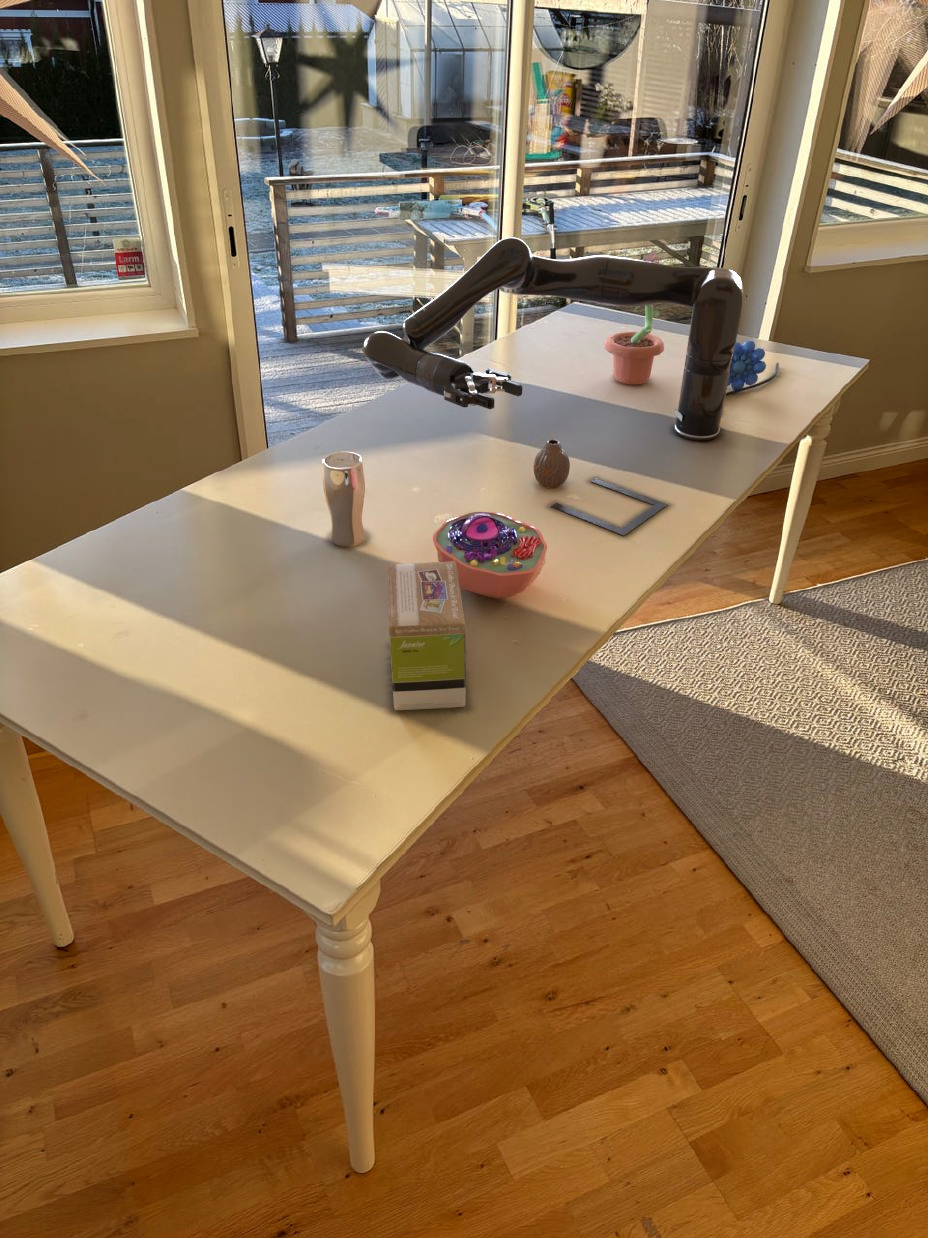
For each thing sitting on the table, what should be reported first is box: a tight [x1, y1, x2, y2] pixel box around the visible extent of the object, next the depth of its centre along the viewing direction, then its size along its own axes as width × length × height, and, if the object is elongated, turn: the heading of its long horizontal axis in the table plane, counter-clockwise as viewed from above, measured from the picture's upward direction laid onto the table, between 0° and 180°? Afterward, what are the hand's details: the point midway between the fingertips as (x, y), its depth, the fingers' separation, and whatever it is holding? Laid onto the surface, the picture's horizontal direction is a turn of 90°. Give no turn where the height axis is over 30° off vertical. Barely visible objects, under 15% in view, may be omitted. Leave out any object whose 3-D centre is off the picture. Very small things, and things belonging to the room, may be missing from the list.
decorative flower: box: [604, 249, 665, 385], centre depth 215 cm, size 15×14×30 cm
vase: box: [533, 438, 571, 489], centre depth 177 cm, size 7×7×9 cm
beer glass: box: [322, 451, 366, 548], centre depth 158 cm, size 7×7×15 cm
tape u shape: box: [550, 477, 669, 537], centre depth 172 cm, size 15×16×1 cm
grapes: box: [727, 340, 767, 391], centre depth 216 cm, size 12×7×12 cm, turn 65°
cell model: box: [432, 511, 548, 600], centre depth 147 cm, size 17×20×11 cm
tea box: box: [387, 561, 466, 712], centre depth 127 cm, size 15×10×15 cm, turn 5°
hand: (507, 397), depth 177 cm, fingers open, 8 cm apart
